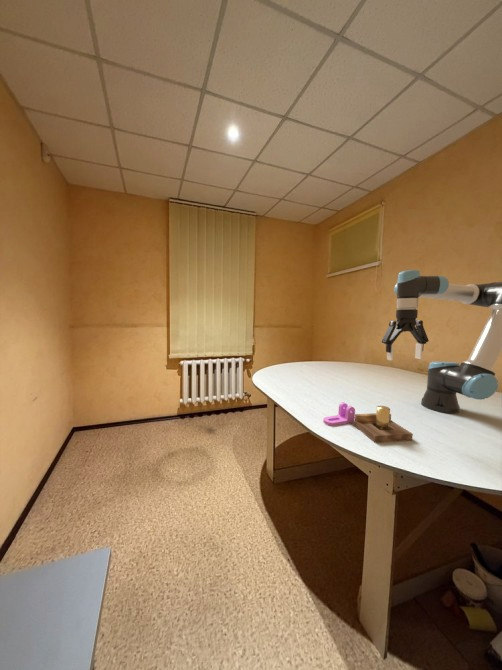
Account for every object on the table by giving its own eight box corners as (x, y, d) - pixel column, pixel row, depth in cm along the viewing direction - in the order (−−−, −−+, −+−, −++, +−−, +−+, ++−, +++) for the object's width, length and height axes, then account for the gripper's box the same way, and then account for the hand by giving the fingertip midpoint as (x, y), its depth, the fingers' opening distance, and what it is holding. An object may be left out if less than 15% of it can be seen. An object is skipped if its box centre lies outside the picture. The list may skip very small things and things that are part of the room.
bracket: (344, 416, 109) (345, 401, 108) (354, 422, 104) (355, 406, 103) (320, 421, 105) (321, 405, 104) (329, 426, 99) (329, 410, 99)
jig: (387, 424, 103) (388, 412, 102) (412, 440, 90) (413, 427, 89) (354, 425, 100) (355, 414, 100) (374, 442, 88) (375, 429, 87)
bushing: (382, 429, 98) (384, 405, 97) (390, 435, 93) (392, 409, 92) (372, 430, 97) (374, 405, 96) (380, 435, 93) (382, 410, 92)
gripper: (425, 308, 107) (422, 356, 109) (373, 309, 103) (371, 359, 105) (441, 308, 100) (437, 359, 102) (386, 309, 96) (384, 362, 98)
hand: (404, 359), depth 104 cm, fingers open, 13 cm apart
